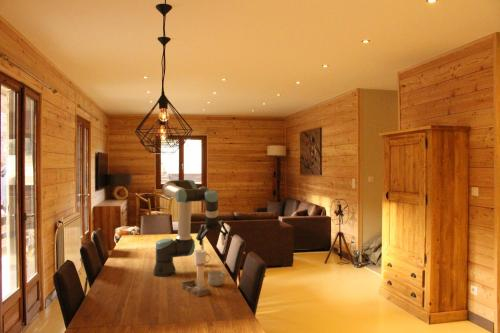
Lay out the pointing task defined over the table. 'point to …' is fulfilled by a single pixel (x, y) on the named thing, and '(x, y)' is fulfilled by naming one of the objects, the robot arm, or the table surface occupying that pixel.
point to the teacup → (216, 278)
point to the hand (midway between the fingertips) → (212, 247)
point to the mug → (200, 257)
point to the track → (190, 288)
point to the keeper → (200, 277)
